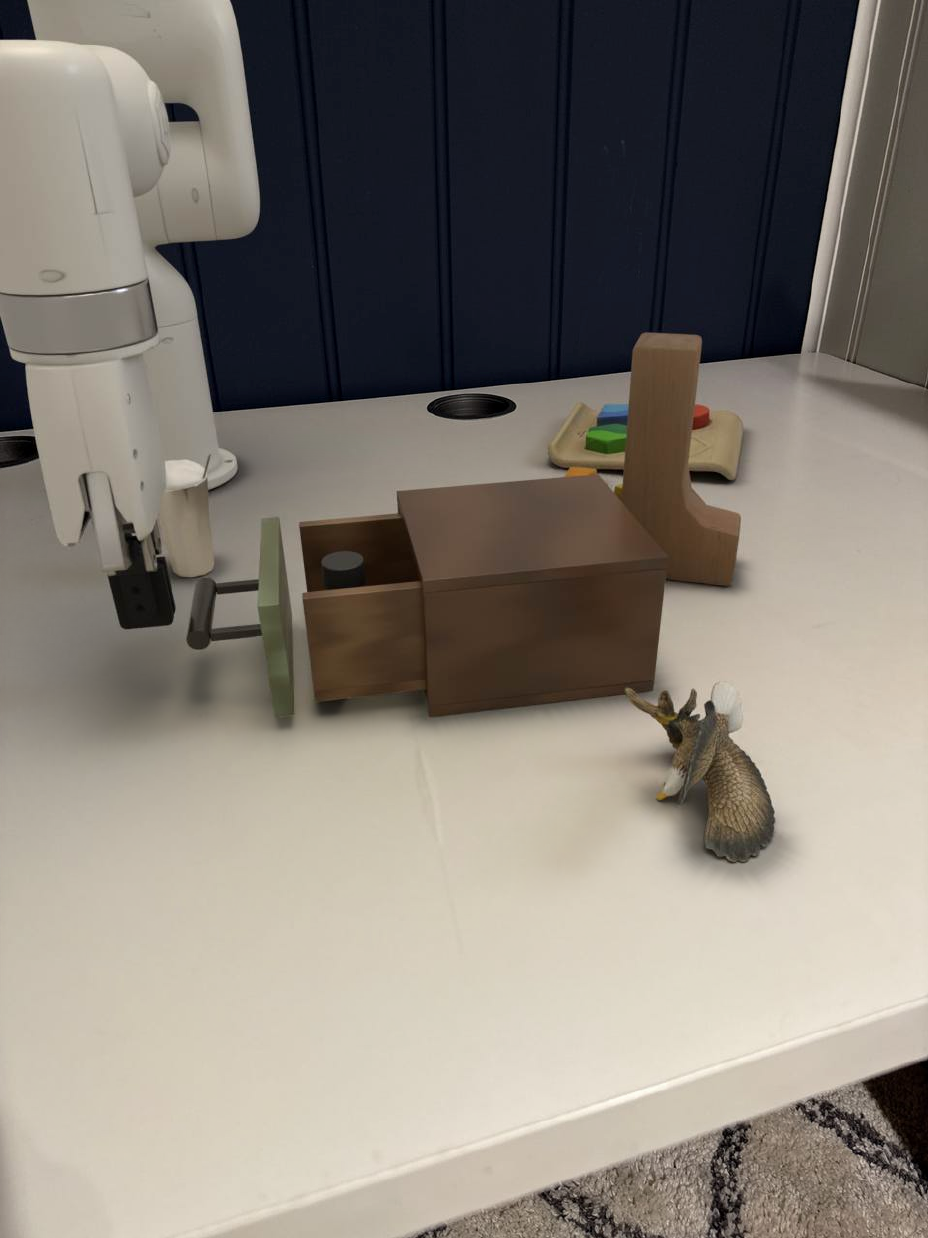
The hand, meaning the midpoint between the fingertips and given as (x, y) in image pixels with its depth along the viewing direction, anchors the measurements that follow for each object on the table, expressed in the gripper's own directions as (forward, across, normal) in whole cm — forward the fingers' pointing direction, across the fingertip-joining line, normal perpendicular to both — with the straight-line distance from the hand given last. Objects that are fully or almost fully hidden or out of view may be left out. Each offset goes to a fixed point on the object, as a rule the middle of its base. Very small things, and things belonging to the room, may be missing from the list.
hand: (149, 620), depth 56 cm
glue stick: (+3, 0, +12) cm, 13 cm away
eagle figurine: (+5, +17, +30) cm, 35 cm away
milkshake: (+5, -17, +1) cm, 18 cm away
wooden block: (+5, -9, +39) cm, 40 cm away
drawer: (+4, 0, +12) cm, 12 cm away
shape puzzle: (+5, -33, +45) cm, 56 cm away
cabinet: (+5, 0, +24) cm, 24 cm away
